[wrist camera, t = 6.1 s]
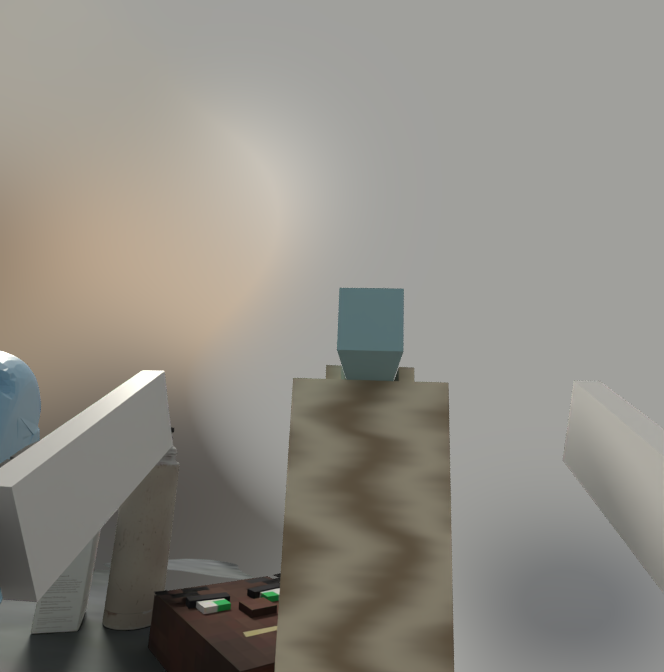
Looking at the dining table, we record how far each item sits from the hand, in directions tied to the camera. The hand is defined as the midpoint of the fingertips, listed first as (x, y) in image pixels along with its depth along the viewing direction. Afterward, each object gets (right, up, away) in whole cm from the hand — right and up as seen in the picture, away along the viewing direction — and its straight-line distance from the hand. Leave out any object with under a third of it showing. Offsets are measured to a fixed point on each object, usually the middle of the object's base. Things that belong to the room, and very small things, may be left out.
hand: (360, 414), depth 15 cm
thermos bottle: (-30, -39, +52) cm, 72 cm away
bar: (+2, -1, +18) cm, 18 cm away
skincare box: (-39, -38, +50) cm, 74 cm away
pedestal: (+1, -31, +15) cm, 35 cm away
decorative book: (-10, -37, +38) cm, 54 cm away
